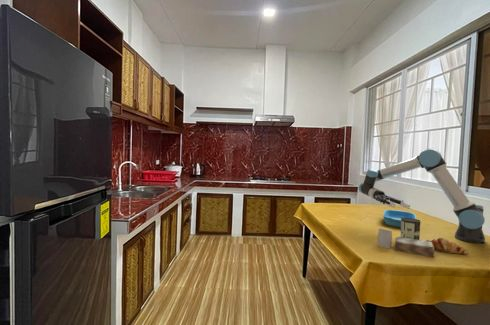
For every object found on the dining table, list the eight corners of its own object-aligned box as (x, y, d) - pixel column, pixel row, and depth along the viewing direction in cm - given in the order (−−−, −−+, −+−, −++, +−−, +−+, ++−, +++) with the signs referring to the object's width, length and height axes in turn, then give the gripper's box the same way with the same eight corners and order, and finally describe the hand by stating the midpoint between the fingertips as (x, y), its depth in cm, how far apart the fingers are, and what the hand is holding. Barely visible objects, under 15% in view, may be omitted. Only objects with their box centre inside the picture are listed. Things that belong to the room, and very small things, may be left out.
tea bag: (390, 248, 152) (391, 231, 152) (377, 245, 156) (378, 229, 156) (391, 247, 155) (392, 230, 155) (378, 244, 159) (379, 227, 159)
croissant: (467, 259, 148) (468, 245, 150) (469, 256, 140) (470, 241, 143) (422, 249, 161) (424, 236, 163) (421, 245, 154) (423, 232, 156)
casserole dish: (416, 231, 189) (417, 221, 189) (381, 226, 201) (382, 216, 200) (414, 220, 221) (415, 212, 221) (384, 216, 232) (384, 208, 232)
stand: (431, 250, 150) (432, 241, 150) (433, 257, 141) (434, 247, 141) (395, 244, 159) (395, 235, 159) (394, 250, 150) (395, 241, 150)
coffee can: (415, 240, 169) (416, 218, 168) (422, 245, 158) (423, 222, 158) (397, 238, 171) (398, 217, 170) (403, 244, 161) (404, 221, 160)
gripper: (387, 200, 197) (413, 212, 178) (362, 198, 188) (386, 210, 169) (391, 191, 196) (417, 202, 176) (365, 188, 187) (389, 199, 167)
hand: (402, 206), depth 173 cm, fingers open, 13 cm apart
